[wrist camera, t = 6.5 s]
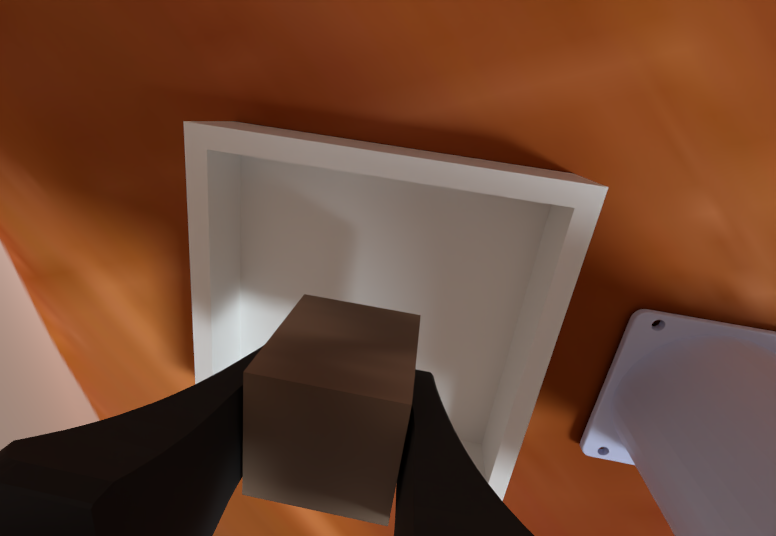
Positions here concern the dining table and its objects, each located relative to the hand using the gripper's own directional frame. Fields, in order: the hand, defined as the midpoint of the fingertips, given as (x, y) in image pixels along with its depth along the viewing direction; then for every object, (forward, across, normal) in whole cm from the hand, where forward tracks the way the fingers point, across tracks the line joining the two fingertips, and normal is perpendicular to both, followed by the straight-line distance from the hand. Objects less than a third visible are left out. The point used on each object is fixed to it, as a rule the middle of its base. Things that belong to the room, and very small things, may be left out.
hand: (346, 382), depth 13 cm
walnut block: (+1, 0, 0) cm, 1 cm away
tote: (+6, 0, 0) cm, 6 cm away
